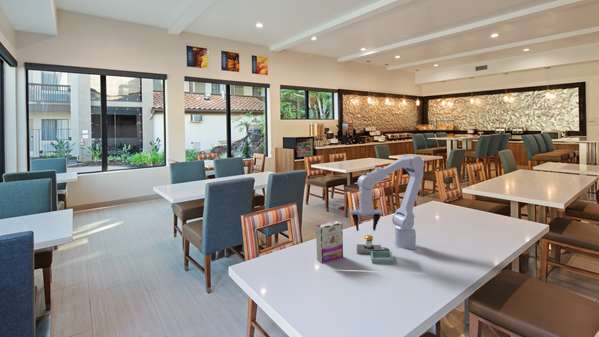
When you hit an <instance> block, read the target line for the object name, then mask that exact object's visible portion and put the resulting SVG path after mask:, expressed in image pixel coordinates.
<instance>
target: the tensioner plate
mask: <svg viewBox="0 0 599 337" xmlns="http://www.w3.org/2000/svg"><path fill="white" fill-rule="evenodd" d="M371 251H388V252H391V250H390V249H389V248H387V247H384V246H383V247H382V244H372V249H366V244H359V243H357V244H356V255H371Z"/></svg>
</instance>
